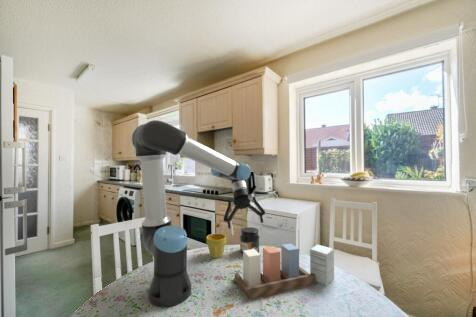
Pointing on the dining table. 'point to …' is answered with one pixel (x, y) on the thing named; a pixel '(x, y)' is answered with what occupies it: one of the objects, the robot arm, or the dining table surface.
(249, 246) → the supplement container
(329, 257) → the supplement box
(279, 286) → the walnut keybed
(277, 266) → the pink rectangular block
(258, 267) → the ivory key
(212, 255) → the plant pot
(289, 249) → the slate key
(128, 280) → the dining table surface
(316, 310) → the dining table surface
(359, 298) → the dining table surface
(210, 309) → the dining table surface
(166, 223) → the robot arm
